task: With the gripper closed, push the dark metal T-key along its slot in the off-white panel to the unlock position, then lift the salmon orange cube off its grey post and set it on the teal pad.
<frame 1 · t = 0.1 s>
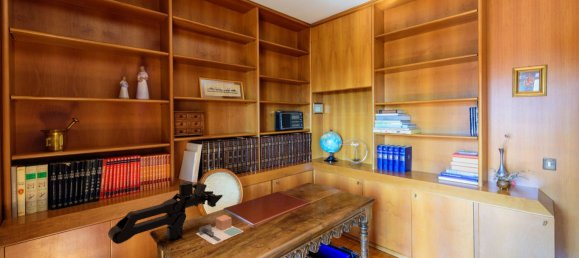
hand: (217, 193, 148), 16 cm above the table, tool horizontal, fingers open, 9 cm apart
t key: (208, 231, 131), point 3 cm above the table, slide at 0.0 cm
salmon orange cube: (223, 226, 140), point 1 cm above the table, touching panel
panel: (220, 234, 134), on the table
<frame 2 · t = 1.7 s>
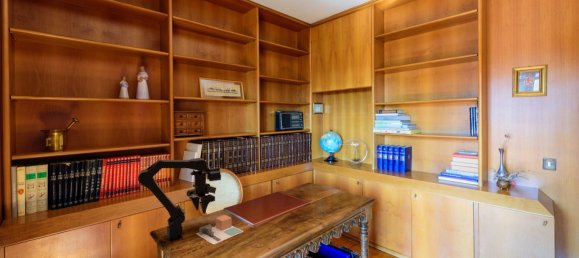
hand: (200, 211, 136), 11 cm above the table, tool pointing down, fingers open, 6 cm apart
nothing on the table moved.
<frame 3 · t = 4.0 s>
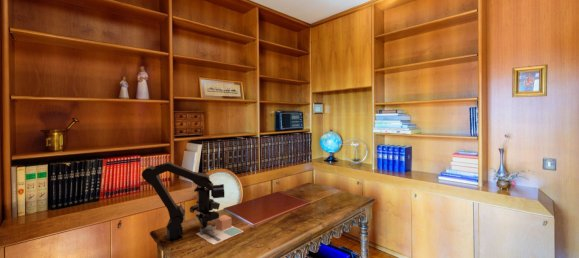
hand: (204, 228, 134), 3 cm above the table, tool pointing down, fingers closed
t key: (209, 231, 131), point 3 cm above the table, slide at 0.6 cm, touching gripper
everything else where it was.
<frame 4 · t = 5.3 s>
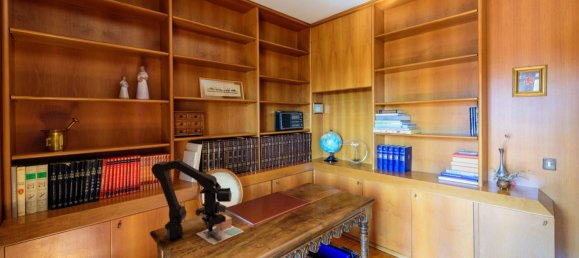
hand: (210, 231, 130), 3 cm above the table, tool pointing down, fingers closed
t key: (215, 235, 127), point 3 cm above the table, slide at 6.3 cm, touching gripper
everything else where it was.
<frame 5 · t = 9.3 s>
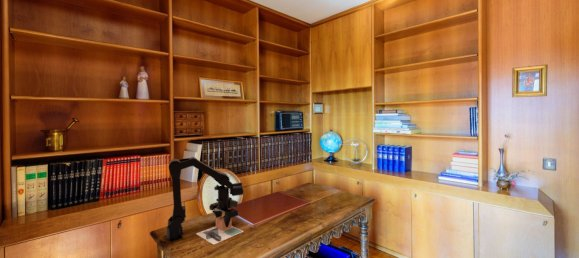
hand: (223, 225, 140), 2 cm above the table, tool pointing down, fingers closed on salmon orange cube, 6 cm apart
t key: (215, 235, 127), point 3 cm above the table, slide at 6.3 cm
salmon orange cube: (223, 226, 140), point 1 cm above the table, touching gripper, panel
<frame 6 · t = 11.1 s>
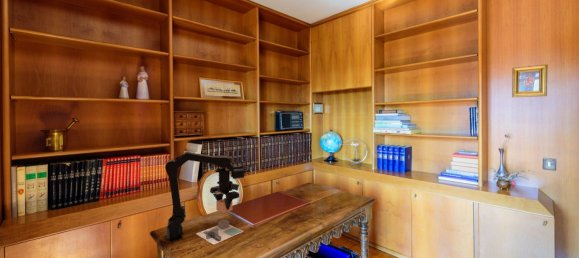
hand: (224, 208, 139), 12 cm above the table, tool pointing down, fingers closed on salmon orange cube, 6 cm apart
salmon orange cube: (224, 210, 139), point 11 cm above the table, touching gripper
everything else where it was.
when the fingers open (3 cm above the table, at t = 13.2 s): salmon orange cube drops 1 cm, resting on panel.
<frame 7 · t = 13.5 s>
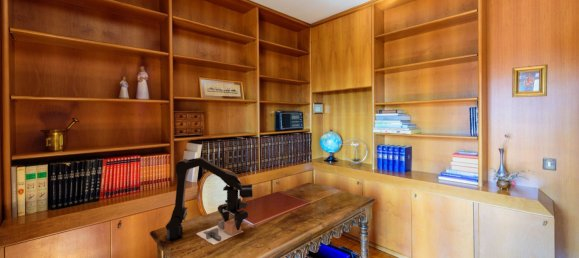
hand: (232, 227, 135), 3 cm above the table, tool pointing down, fingers open, 9 cm apart
salmon orange cube: (232, 231, 135), point 1 cm above the table, touching panel
everything else where it was.
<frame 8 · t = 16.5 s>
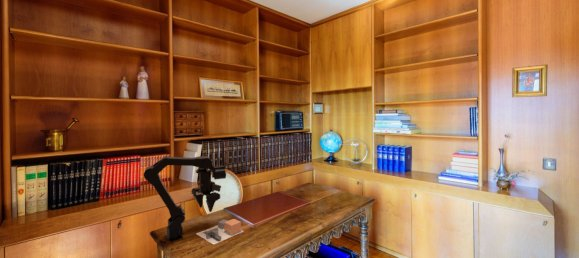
hand: (205, 209, 136), 12 cm above the table, tool pointing down, fingers open, 9 cm apart
nothing on the table moved.
at the end: t key slide at 6.3 cm; salmon orange cube 0.0 cm from the target spot, point 1.3 cm above the table; salmon orange cube tilted 0° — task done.
